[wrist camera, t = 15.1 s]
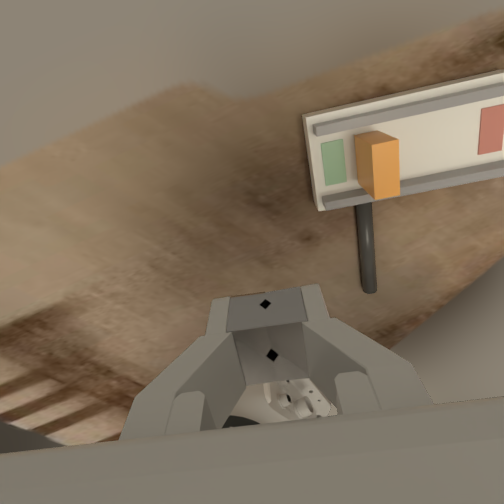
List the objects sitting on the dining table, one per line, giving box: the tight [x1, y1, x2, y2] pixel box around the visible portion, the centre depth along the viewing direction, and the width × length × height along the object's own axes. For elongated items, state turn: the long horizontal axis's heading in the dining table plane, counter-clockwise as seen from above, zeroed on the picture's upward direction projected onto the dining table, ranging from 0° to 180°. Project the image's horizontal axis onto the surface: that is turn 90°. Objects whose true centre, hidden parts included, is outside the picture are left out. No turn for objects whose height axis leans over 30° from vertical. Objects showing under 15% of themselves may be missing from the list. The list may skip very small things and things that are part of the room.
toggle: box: [354, 130, 400, 200], centre depth 29 cm, size 2×4×5 cm, turn 13°
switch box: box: [302, 70, 504, 294], centre depth 34 cm, size 18×21×5 cm
